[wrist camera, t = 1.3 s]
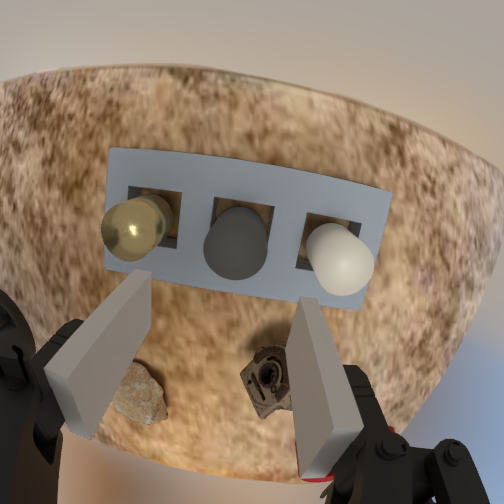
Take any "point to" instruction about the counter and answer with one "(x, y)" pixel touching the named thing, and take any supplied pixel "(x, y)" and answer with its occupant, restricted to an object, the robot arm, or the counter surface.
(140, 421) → the stone
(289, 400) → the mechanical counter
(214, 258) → the dark gray cylinder
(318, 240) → the white rounded cylinder
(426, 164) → the counter surface
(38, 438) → the robot arm
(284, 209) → the grey slotted holder
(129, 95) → the counter surface
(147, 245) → the gold cylinder
